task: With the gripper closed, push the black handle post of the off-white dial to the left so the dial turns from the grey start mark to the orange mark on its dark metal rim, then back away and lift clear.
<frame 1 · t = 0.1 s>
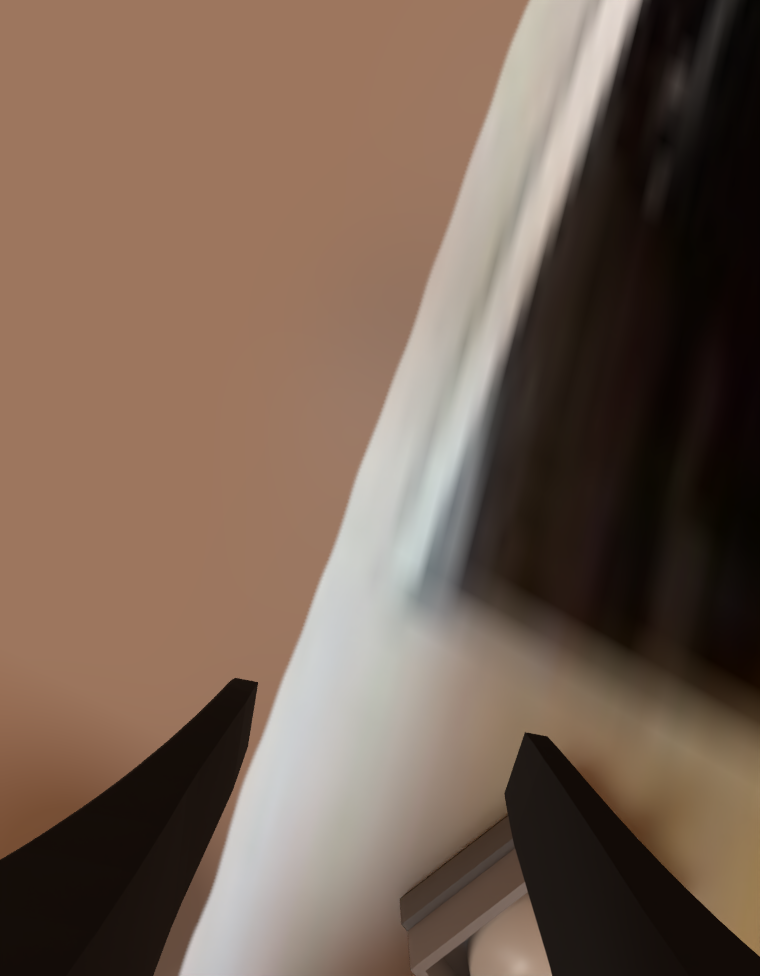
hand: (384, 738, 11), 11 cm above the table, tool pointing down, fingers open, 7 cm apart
dial plate: (532, 916, 22), on the table
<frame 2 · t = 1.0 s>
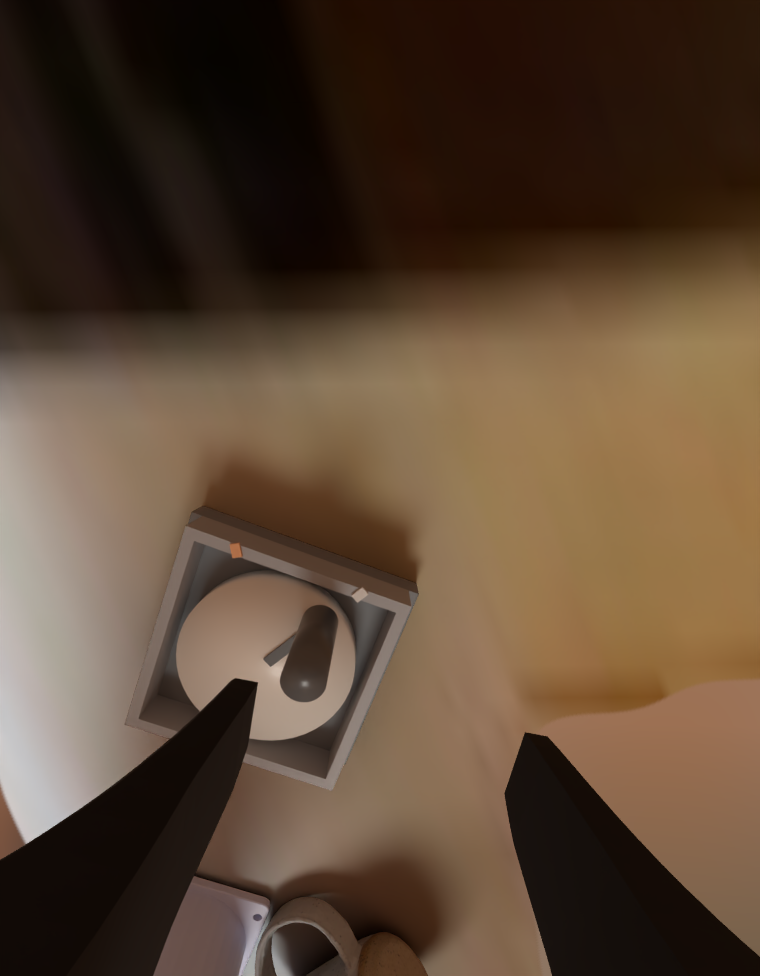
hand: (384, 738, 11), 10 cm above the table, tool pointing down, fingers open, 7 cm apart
ceramic mug: (339, 948, 25), on the table
dial: (255, 685, 17), point 4 cm above the table, hinge at -30.0°
dial plate: (279, 633, 21), on the table
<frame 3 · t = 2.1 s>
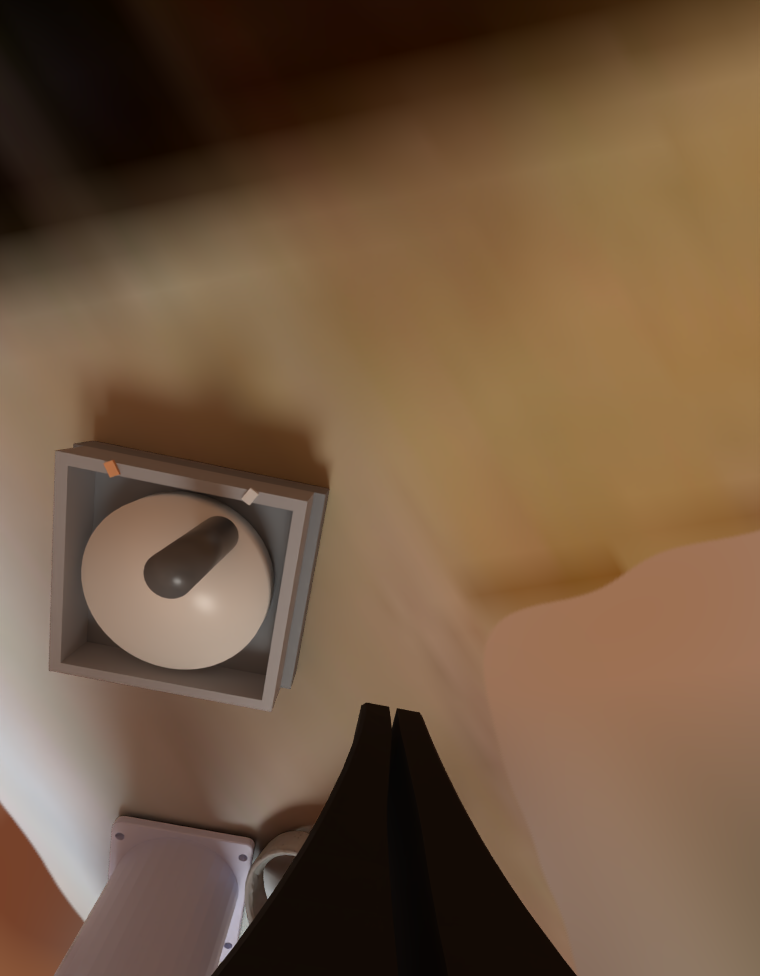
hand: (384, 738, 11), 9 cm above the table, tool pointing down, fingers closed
ceramic mug: (337, 880, 24), on the table
dial: (155, 604, 16), point 4 cm above the table, hinge at -30.0°
dial plate: (200, 564, 20), on the table
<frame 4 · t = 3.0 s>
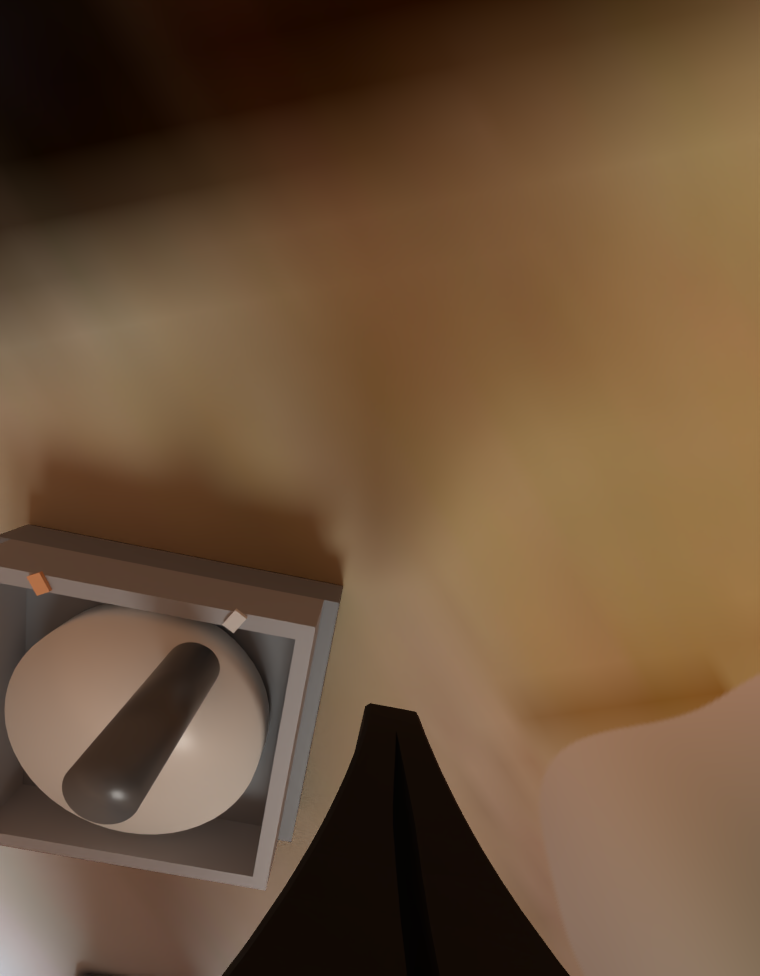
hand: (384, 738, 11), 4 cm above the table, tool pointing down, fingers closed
dial: (100, 776, 11), point 4 cm above the table, hinge at -30.0°
dial plate: (174, 679, 15), on the table
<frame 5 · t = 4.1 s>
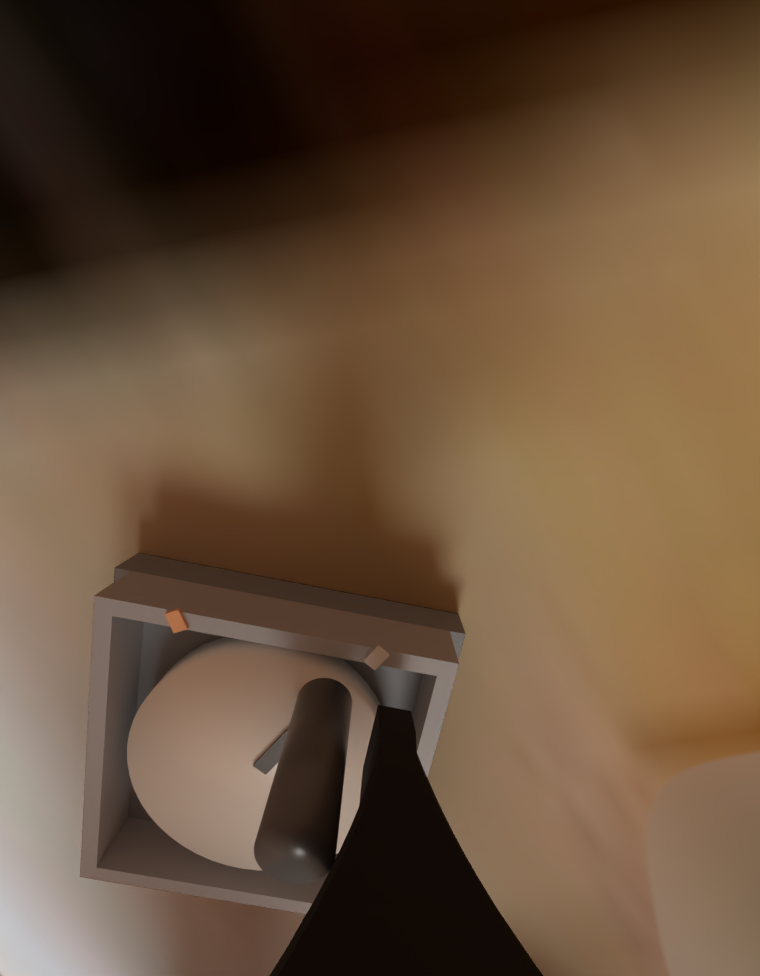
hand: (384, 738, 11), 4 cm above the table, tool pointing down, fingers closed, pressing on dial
dial: (241, 819, 11), point 4 cm above the table, hinge at -29.8°, touching gripper
dial plate: (279, 708, 15), on the table
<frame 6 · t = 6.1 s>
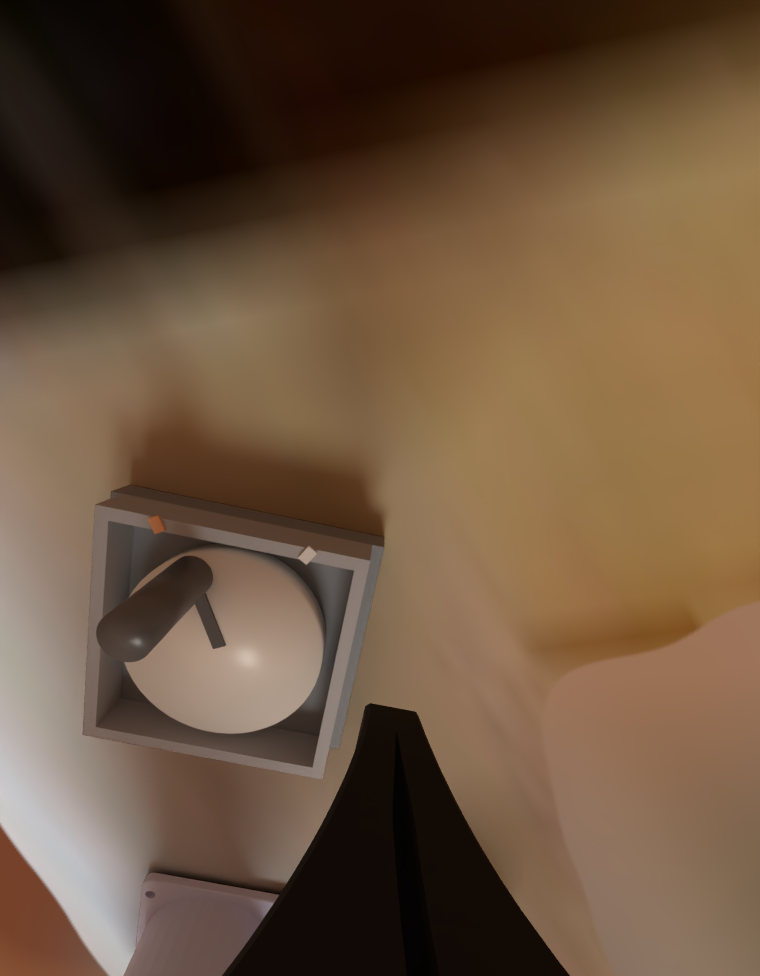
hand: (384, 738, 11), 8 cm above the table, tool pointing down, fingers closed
dial: (203, 673, 14), point 4 cm above the table, hinge at 26.9°
dial plate: (242, 614, 18), on the table
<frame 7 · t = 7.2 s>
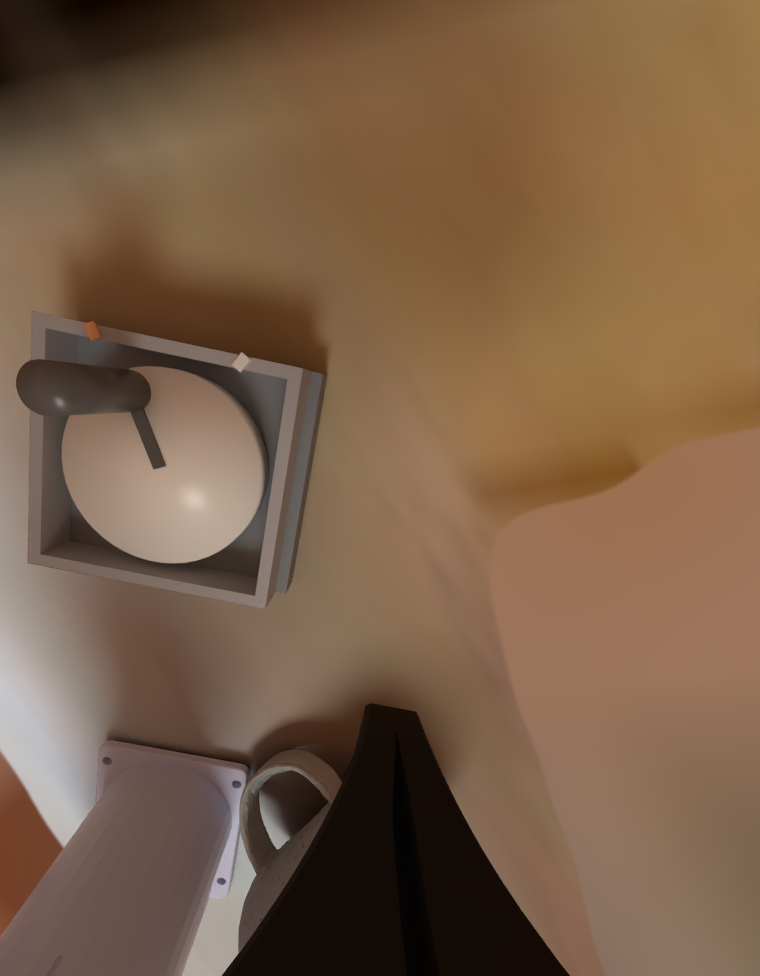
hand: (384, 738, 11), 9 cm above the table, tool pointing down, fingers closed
ceramic mug: (336, 807, 23), on the table
dial: (139, 477, 15), point 4 cm above the table, hinge at 27.1°
dial plate: (190, 460, 19), on the table
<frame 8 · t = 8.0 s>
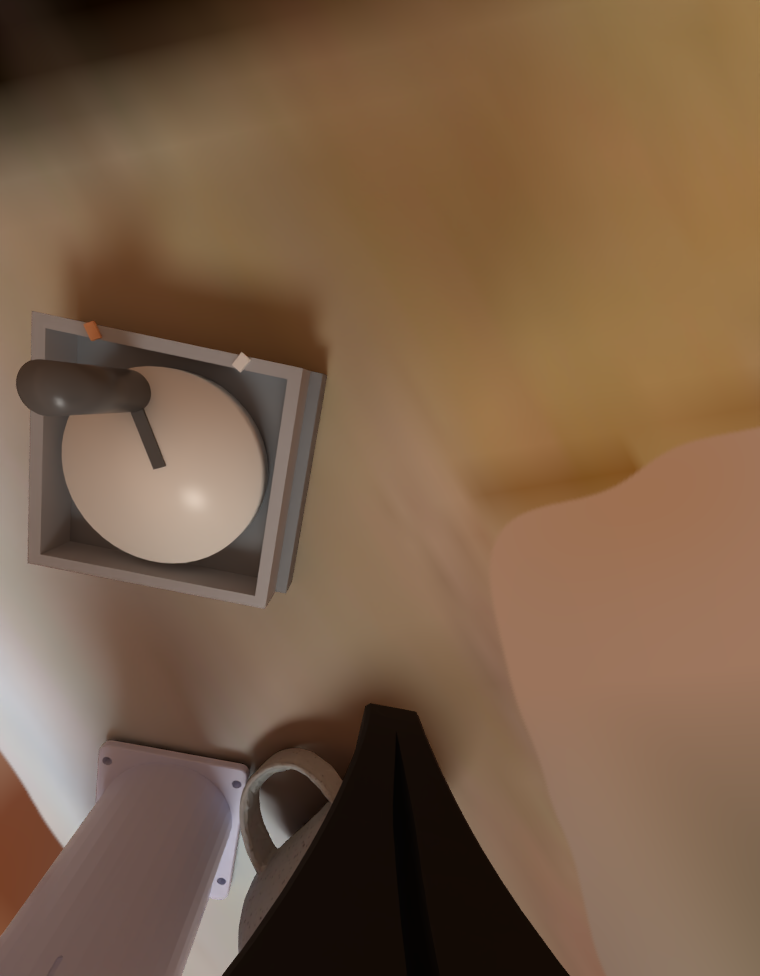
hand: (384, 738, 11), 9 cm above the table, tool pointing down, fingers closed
ceramic mug: (336, 806, 23), on the table
dial: (139, 477, 15), point 4 cm above the table, hinge at 27.1°
dial plate: (190, 460, 19), on the table
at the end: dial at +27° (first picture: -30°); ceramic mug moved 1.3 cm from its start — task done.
